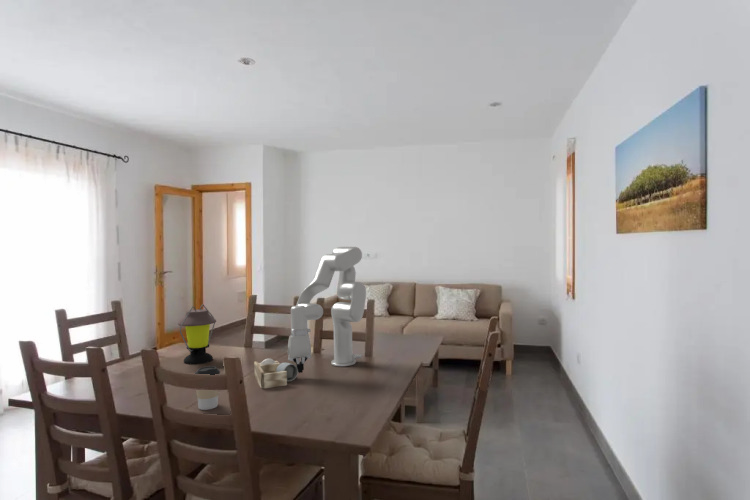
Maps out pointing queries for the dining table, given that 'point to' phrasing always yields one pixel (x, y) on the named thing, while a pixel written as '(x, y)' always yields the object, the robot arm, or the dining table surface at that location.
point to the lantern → (197, 335)
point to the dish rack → (269, 375)
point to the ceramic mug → (288, 370)
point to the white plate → (267, 362)
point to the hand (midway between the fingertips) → (300, 371)
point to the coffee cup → (207, 391)
